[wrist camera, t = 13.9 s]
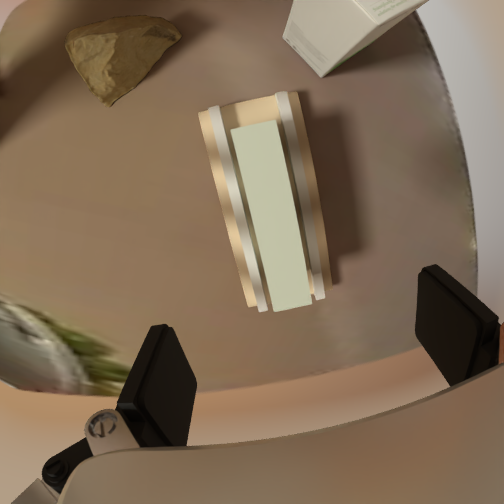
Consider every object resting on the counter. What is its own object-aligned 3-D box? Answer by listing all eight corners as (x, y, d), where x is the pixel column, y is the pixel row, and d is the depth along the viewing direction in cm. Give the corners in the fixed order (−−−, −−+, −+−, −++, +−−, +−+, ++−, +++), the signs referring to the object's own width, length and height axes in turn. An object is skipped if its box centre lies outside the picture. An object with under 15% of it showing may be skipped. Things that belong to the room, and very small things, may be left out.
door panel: (235, 132, 28) (230, 129, 21) (270, 124, 28) (275, 119, 21) (269, 278, 33) (274, 312, 27) (300, 271, 33) (312, 303, 27)
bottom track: (199, 113, 28) (195, 111, 26) (295, 92, 27) (299, 88, 25) (248, 302, 36) (248, 314, 33) (330, 285, 35) (335, 295, 33)
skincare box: (319, 79, 27) (377, 32, 12) (277, 35, 25) (297, -43, 10) (373, 42, 25) (450, -8, 10) (333, 0, 23) (383, -74, 9)
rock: (177, -6, 21) (86, 17, 20) (173, 4, 17) (59, 37, 16) (187, 76, 30) (107, 94, 29) (188, 110, 26) (91, 132, 25)
